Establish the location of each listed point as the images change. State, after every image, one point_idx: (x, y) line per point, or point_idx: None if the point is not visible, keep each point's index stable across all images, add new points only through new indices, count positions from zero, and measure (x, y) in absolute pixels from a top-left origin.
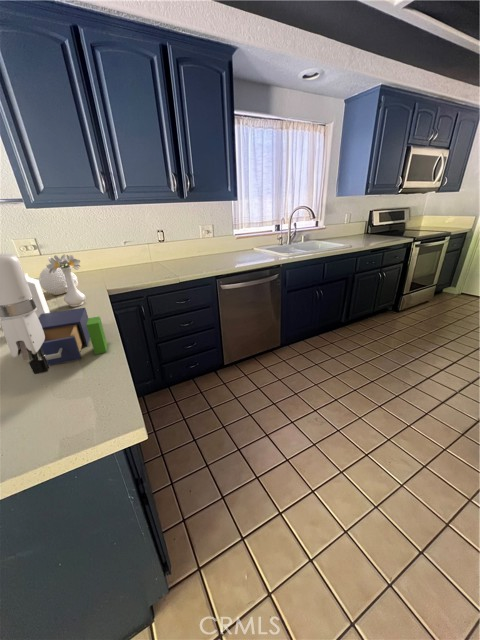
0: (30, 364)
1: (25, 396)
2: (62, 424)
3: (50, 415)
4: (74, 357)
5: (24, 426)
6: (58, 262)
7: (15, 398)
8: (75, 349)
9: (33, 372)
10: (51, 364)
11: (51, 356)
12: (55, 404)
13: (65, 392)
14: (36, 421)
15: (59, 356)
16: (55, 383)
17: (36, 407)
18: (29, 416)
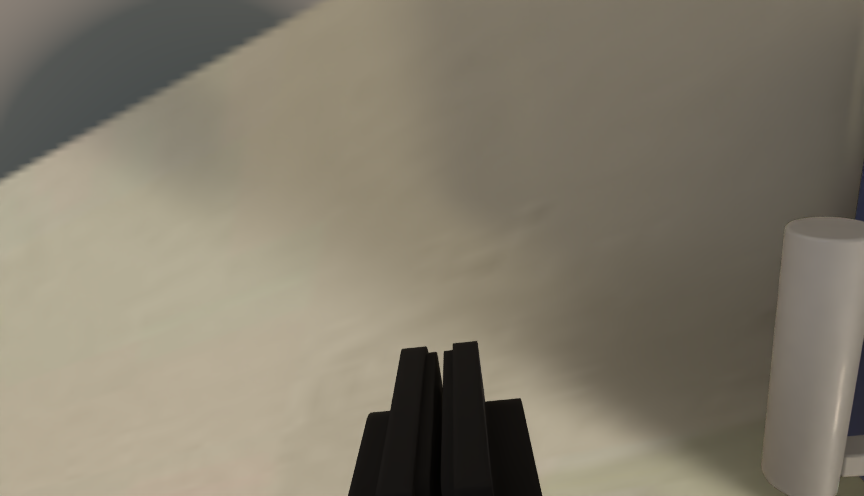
0: (385, 453)
1: (389, 141)
2: (61, 474)
3: (138, 395)
4: (852, 422)
5: (46, 283)
6: None
7: (380, 61)
8: None
9: (401, 359)
10: (859, 214)
11: (791, 416)
12: (243, 391)
13: (366, 414)
14: (89, 336)
15: (764, 474)
16: (514, 315)
17: (228, 284)
18: (138, 275)
